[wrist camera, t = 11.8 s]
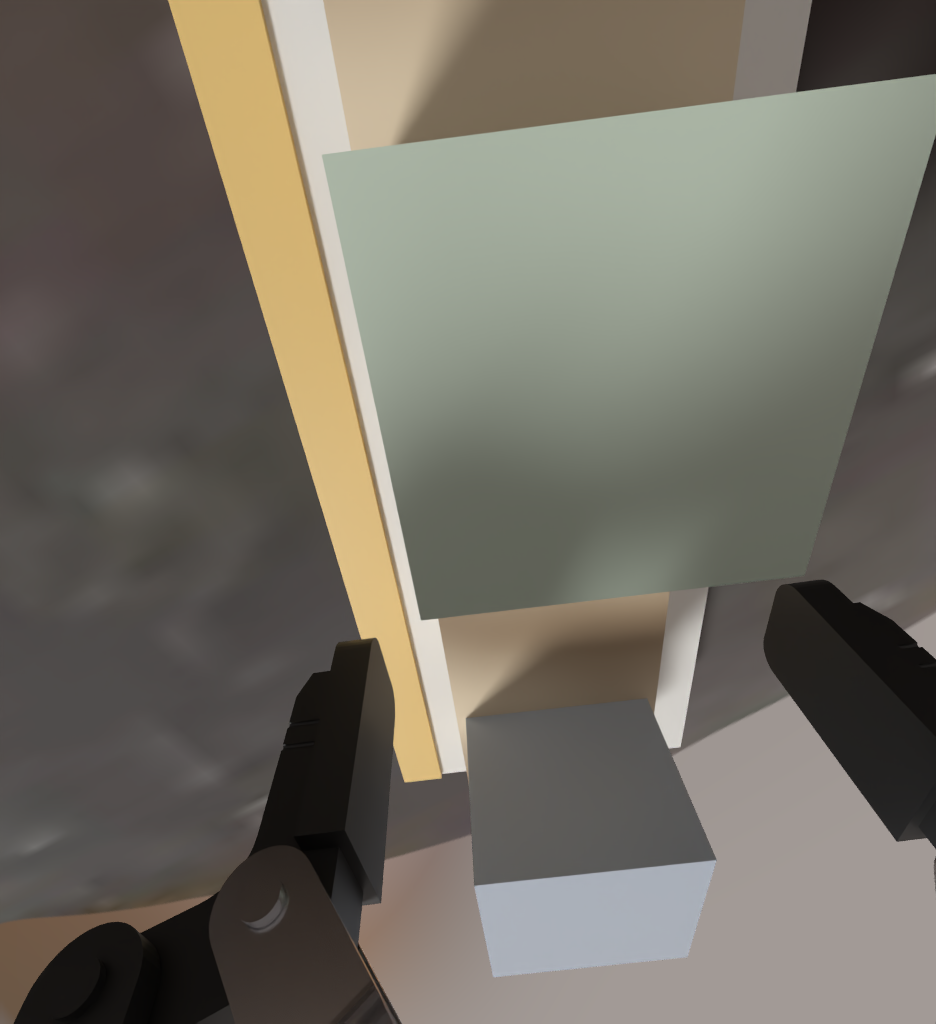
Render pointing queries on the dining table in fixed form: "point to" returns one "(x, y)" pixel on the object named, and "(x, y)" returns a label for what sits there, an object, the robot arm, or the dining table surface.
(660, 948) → the block
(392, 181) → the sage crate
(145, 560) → the dining table surface
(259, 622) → the dining table surface
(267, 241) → the dock
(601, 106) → the pallet
